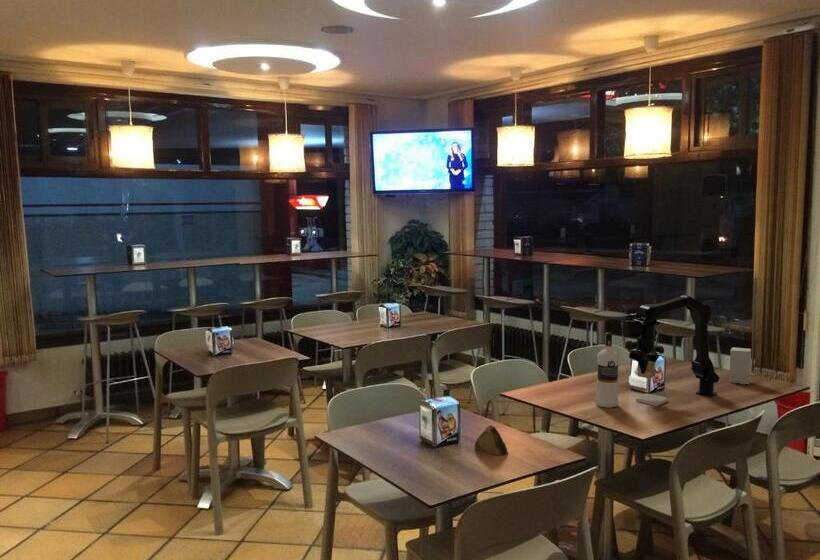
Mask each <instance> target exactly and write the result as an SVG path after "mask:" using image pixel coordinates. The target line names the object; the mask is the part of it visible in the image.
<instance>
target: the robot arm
mask: <svg viewBox="0 0 820 560" xmlns="http://www.w3.org/2000/svg"><path fill="white" fill-rule="evenodd" d="M681 308H685V309H687V310H688V311H689V313H690V318H691V320H692V322H693V323H694V333H695V334H694V335H695V352H696V353H695V354H696V356H695V358H694V360H691V361H690V362H691V371H692V372H693V374H694V376H695V378H696V379H699V384H698V385H699V387H698V391H697V392H695V394H696V395H700V396H705V397H706V396H707V397H710V398H711V397H713V396H715V395H717V392H716V391H715V392H714V390H715V384H716V383H719V381H720V376H719V375H718V374H717V373H716V371H715V369H714V368H715V366H714V364H713V362H712V360H711V358H710V351H709V350H710V348H709V328H708V324H709V322H710V321H711V319H712V307H711V306H710V305H709V304H706V303H702V302H701V301H698V300H697V299H695V298H694V297H692V296H690V295H685V294H682V295H680V296H677V297H674V298H672V299H669V300H666V301H662V302H659V303H647V304H646V303H645V304H642V305H640V306H639V308H638V310H637V312H636V314H635V315H634V317H633V318H632V320H625V321H624V324H623V325H622V328H621V333H622V336H623V337H625V338H636V337H637V339H636V340H635V341H632V340H627V341H625V346H624V348H625V349H627V351H628V352H629V354H628V358H629V359H632V360H636V361H637V364H638V363H639V366H640V370H641V373H642V374H645V371H646V368H647V366H648V363H649V361H652V362H655V364H656V362H657V361H658V360H659V358H660V356H661V354H664V353H665V348H664V346H662V345H657V344H655V342H656V341H657V337H655V335H656V333H655V332H656V326H659V325H660V324H661V323H660V322H659V321H658V320H657V319H659V318H661V316H662V315H664V314H666V313H669V312H672V311H675V310H679V309H681Z"/></svg>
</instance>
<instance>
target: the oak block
mask: <svg viewBox="0 0 820 560" xmlns="http://www.w3.org/2000/svg"><path fill="white" fill-rule="evenodd" d="M655 376H656V363H655V362H652V361H649V363H648V366H647V368H646V371H645V374H642V373H641V370H640V366H639V363H638V362H637V377H641V378H645V379H650V378H654V377H655Z"/></svg>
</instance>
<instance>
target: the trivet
mask: <svg viewBox="0 0 820 560" xmlns="http://www.w3.org/2000/svg"><path fill="white" fill-rule="evenodd" d="M636 401H637V402H638V403H641V404H644V405H651V406H655V407H658V406H661V405H662V404H664V403H666V402H668V398H667V397H665V396H659V395H655V394H651V393H648V392H647V393H644V394H642V395H640V396H638V397H636V398H635V402H636Z"/></svg>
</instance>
